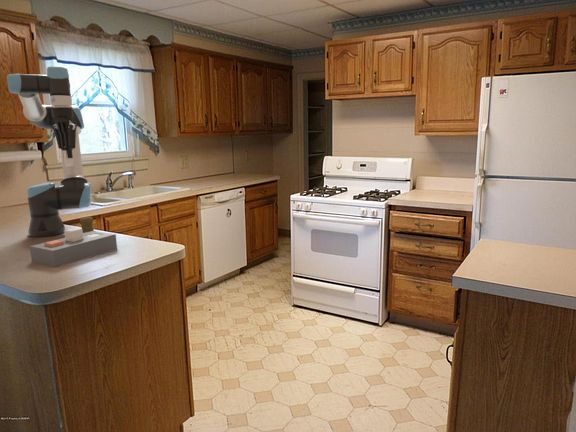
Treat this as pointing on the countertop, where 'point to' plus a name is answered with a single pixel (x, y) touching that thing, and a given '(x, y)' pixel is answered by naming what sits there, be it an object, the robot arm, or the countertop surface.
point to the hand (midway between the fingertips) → (69, 166)
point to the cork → (86, 224)
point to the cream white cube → (73, 234)
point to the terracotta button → (54, 243)
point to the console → (73, 249)
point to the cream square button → (92, 235)
